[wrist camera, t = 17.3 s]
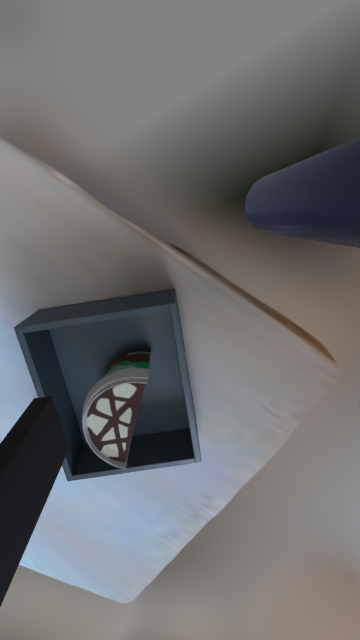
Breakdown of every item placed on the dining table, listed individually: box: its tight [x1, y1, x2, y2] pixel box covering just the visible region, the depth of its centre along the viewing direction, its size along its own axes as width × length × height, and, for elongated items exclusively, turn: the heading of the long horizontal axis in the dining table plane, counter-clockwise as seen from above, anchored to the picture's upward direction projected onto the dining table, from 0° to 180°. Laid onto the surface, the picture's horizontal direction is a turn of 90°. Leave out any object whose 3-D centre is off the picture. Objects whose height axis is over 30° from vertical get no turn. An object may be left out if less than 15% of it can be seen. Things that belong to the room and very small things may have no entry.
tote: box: [14, 289, 201, 481], centre depth 39 cm, size 18×22×7 cm
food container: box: [82, 349, 151, 469], centre depth 37 cm, size 12×6×10 cm, turn 166°
